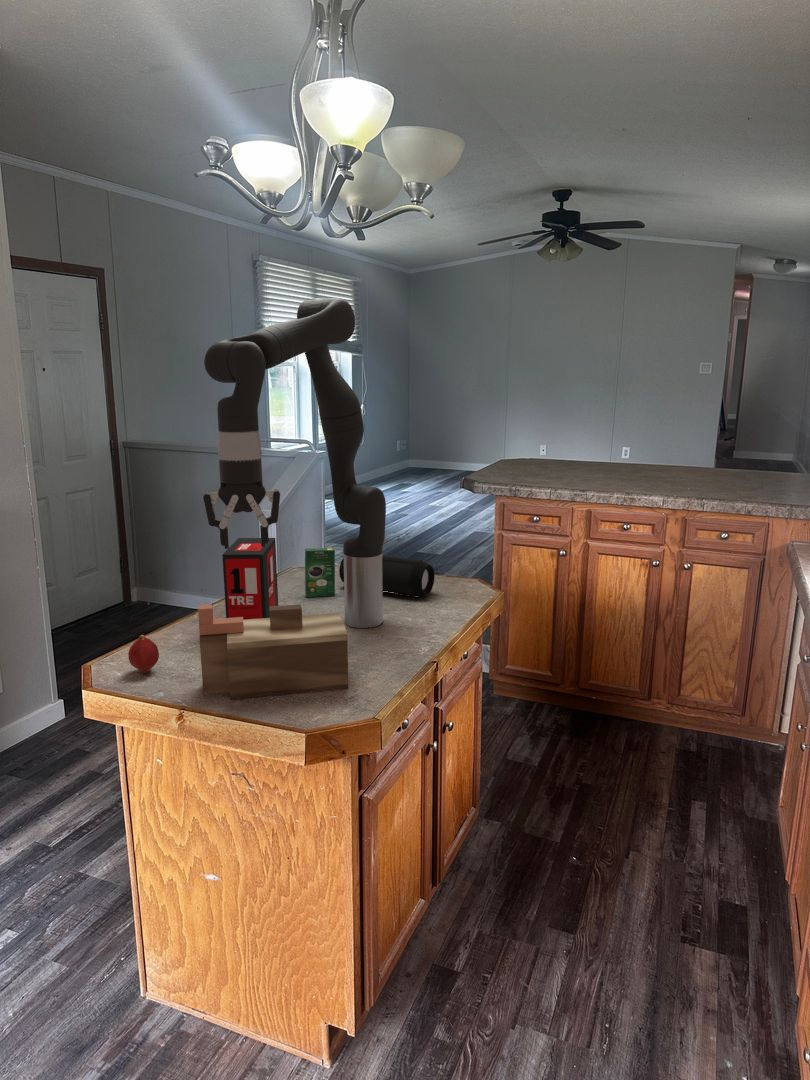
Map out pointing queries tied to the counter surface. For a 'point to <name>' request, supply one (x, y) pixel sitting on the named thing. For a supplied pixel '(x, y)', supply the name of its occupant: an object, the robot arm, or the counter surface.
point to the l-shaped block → (217, 622)
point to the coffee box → (320, 572)
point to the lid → (288, 629)
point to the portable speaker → (404, 576)
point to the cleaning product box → (250, 578)
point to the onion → (143, 654)
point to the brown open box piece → (272, 668)
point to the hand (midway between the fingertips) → (244, 546)
